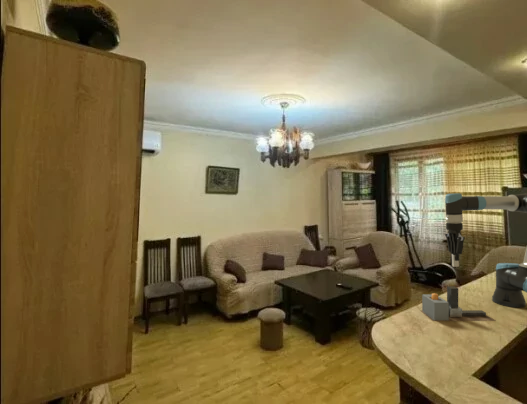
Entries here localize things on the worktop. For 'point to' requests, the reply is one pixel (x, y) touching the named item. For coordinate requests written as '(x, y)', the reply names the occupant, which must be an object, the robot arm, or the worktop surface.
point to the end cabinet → (435, 307)
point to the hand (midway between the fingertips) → (455, 266)
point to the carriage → (453, 302)
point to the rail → (473, 313)
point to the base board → (465, 318)
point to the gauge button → (434, 296)
